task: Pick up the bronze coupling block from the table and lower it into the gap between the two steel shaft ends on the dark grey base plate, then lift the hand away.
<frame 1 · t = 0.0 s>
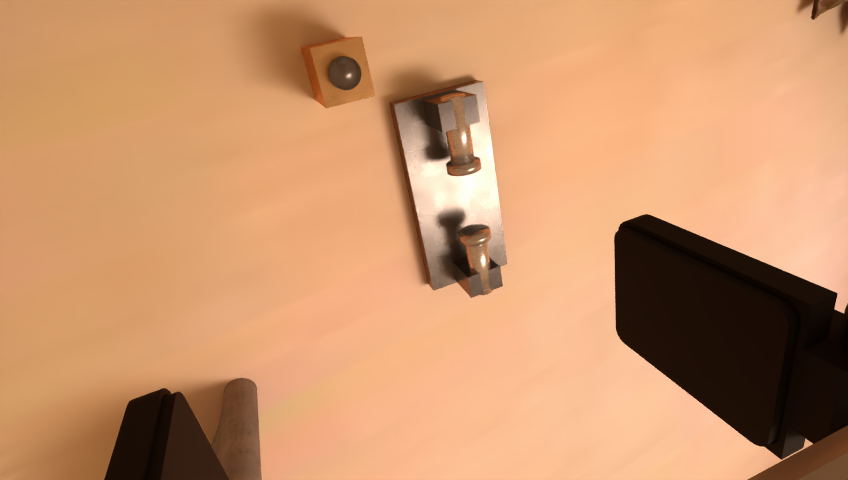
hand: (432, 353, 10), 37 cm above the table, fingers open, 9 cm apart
hip flask: (227, 439, 52), on the table
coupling: (330, 69, 42), on the table
shaft rig: (451, 189, 50), on the table
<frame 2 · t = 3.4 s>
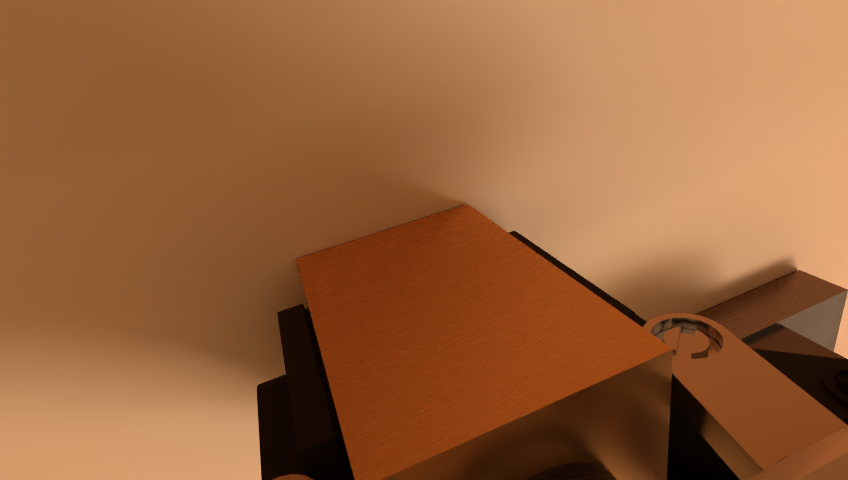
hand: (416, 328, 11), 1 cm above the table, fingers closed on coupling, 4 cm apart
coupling: (405, 311, 12), on the table, touching gripper
when the fingers open (3 cm above the table, at t = 9.4 s): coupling stays where it is, resting on shaft rig.
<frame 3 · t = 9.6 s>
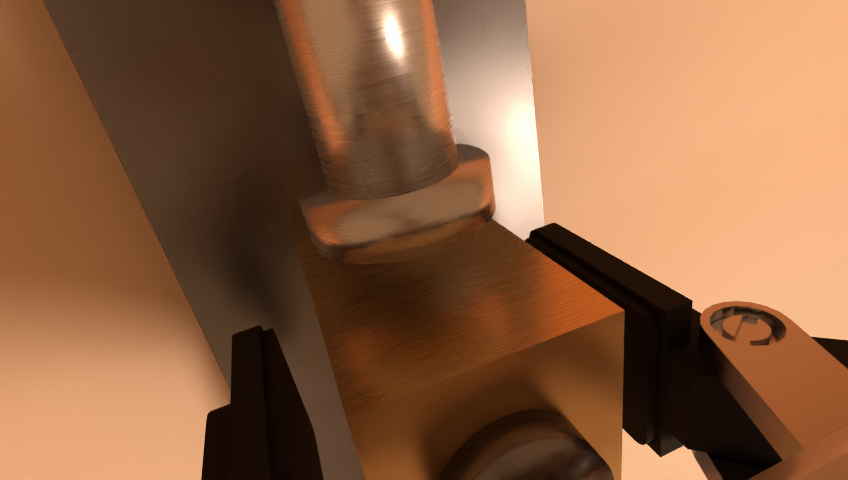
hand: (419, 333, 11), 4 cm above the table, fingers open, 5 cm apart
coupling: (395, 292, 12), point 1 cm above the table, touching shaft rig
shaft rig: (379, 268, 14), on the table
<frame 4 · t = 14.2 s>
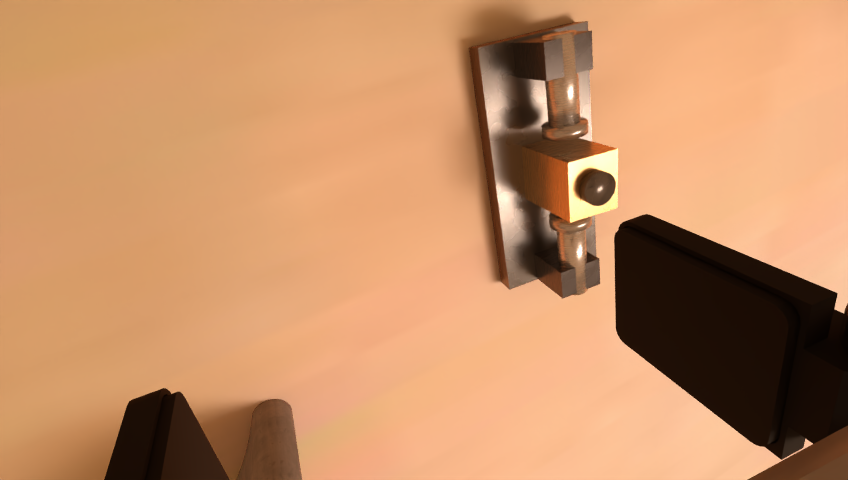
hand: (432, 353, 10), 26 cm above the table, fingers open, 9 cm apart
hip flask: (254, 473, 42), on the table
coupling: (545, 166, 39), point 1 cm above the table, touching shaft rig
shaft rig: (535, 162, 40), on the table
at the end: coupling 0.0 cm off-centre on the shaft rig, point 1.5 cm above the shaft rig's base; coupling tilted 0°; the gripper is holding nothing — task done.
